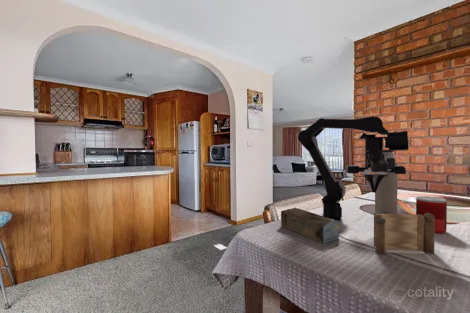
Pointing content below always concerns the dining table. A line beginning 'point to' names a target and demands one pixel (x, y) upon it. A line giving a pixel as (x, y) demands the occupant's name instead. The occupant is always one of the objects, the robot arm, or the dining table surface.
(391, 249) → the threshold
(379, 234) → the post
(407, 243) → the gate
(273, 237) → the dining table surface
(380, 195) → the thermos bottle
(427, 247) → the hinge post
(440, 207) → the canned food
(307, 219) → the beverage carton
